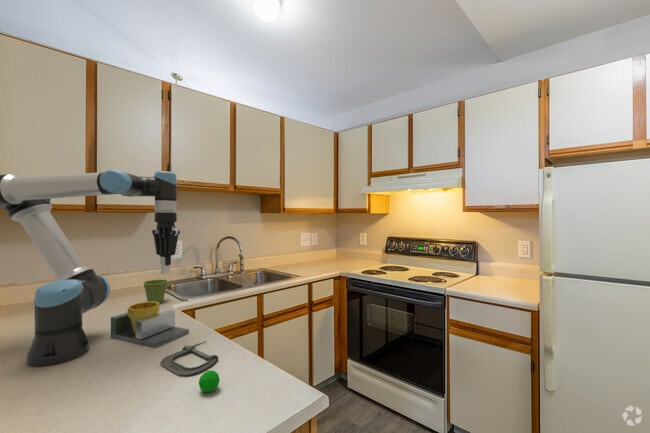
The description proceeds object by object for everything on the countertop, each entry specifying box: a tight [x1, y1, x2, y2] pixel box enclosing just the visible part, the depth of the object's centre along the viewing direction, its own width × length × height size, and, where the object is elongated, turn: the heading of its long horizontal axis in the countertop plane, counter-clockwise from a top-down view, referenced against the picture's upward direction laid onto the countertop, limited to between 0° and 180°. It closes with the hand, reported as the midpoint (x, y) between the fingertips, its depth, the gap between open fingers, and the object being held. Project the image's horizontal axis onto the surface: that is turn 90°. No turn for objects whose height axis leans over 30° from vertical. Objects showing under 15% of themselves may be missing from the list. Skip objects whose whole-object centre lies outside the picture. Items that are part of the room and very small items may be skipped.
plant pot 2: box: [127, 301, 160, 333], centre depth 115 cm, size 10×10×10 cm
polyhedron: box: [198, 369, 221, 393], centre depth 78 cm, size 5×5×5 cm
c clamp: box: [159, 341, 219, 377], centre depth 95 cm, size 20×17×3 cm
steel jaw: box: [136, 309, 176, 339], centre depth 113 cm, size 14×3×6 cm, turn 157°
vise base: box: [110, 311, 190, 349], centre depth 115 cm, size 14×24×8 cm, turn 67°
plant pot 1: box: [142, 278, 169, 305], centre depth 159 cm, size 12×12×11 cm
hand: (165, 273), depth 116 cm, fingers closed
